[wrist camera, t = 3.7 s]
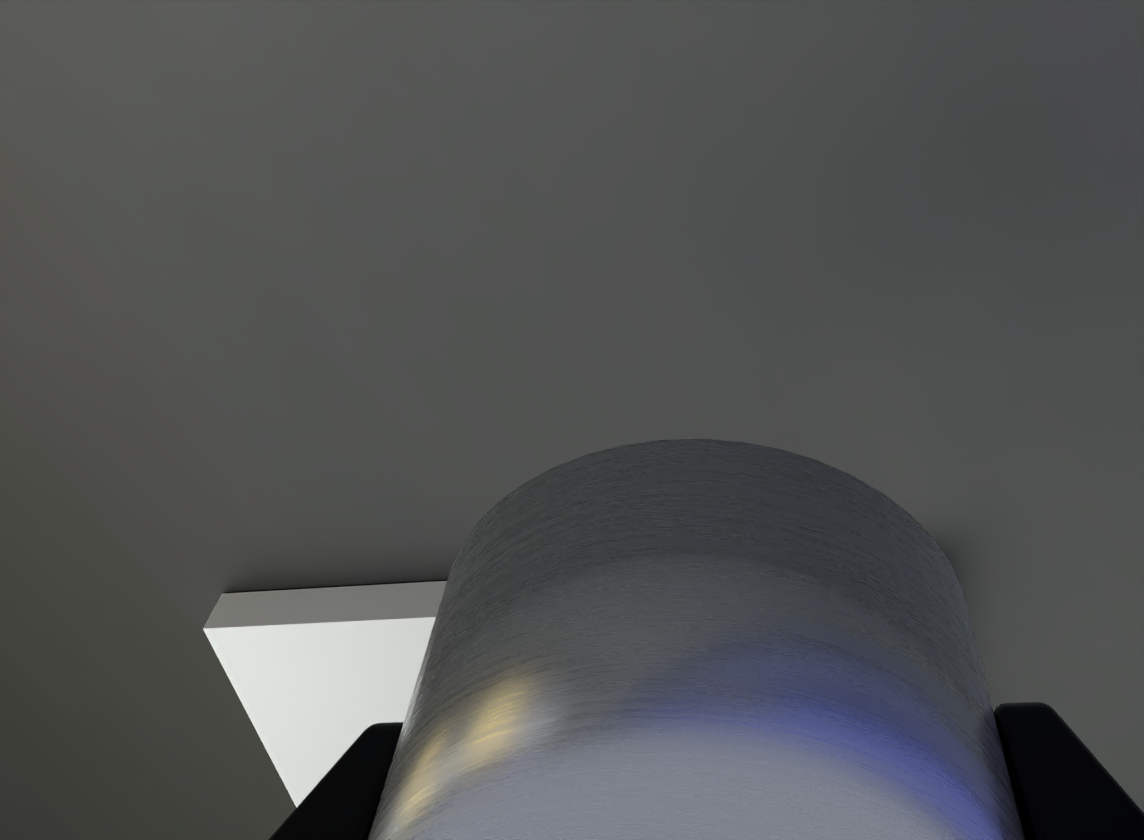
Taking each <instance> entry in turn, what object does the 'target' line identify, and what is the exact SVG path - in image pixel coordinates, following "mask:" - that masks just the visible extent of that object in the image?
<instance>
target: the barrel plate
mask: <svg viewBox="0 0 1144 840" xmlns="http://www.w3.org/2000/svg"><path fill="white" fill-rule="evenodd" d="M446 583H447V581H435V582H417V583H400V584H382V585H365V586H347V587H330V588H312V589H295V590H277V591H259V592H242V593H224V594H222V595H221V597H220V598H219V600H218V602H217V604H216V606H215V608H214V609H213V611H212V613H211V615H210V617H209V619H208V620H207V622H206V624H205V626H204V628H203V630H204V632H205V633H206V635H207V637H208V639H209V641H210V643H211V645H212V647H213V649H214V651H215V653H216V655H217V656H218V658H219V660H220V662H221V664H222V666H223V668H224V670H225V672H226V674H227V676H228V677H229V679H230V681H231V683H232V685H233V687H234V689H235V691H236V693H237V695H238V697H239V699H240V700H241V702H242V704H243V706H244V708H245V710H246V712H247V714H248V716H249V718H250V720H251V721H252V723H253V725H254V727H255V729H256V731H257V733H258V735H259V737H260V739H261V741H262V742H263V744H264V746H265V748H266V750H267V752H268V754H269V756H270V758H271V760H272V762H273V764H274V765H275V767H276V769H277V771H278V773H279V775H280V777H281V779H282V781H283V783H284V785H285V786H286V788H287V790H288V792H289V794H290V796H291V798H292V800H293V802H294V804H295V806H296V808H297V807H298V806H299V804H300V803H301V802H302V801H303V800H304V799H305V798H306V796H307V795H308V794H309V793H310V792H311V791H312V790H313V788H314V787H315V786H316V785H317V784H318V783H319V782H320V780H321V779H322V778H323V777H324V776H325V775H326V774H327V772H328V771H329V770H330V769H331V768H332V767H333V766H334V765H335V763H336V762H337V761H338V760H339V759H340V758H341V757H342V755H343V754H344V753H345V752H346V751H347V750H348V749H349V747H350V746H351V745H352V744H353V743H354V742H355V741H356V739H357V738H358V737H359V736H360V735H361V734H362V733H363V731H364V730H365V729H367V728H368V727H369V726H371V725H373V724H376V723H391V722H404V720H405V717H406V713H407V710H408V707H409V704H410V700H411V697H412V694H413V691H414V687H415V684H416V681H417V678H418V674H419V671H420V668H421V664H422V661H423V658H424V655H425V651H426V648H427V645H428V642H429V638H430V635H431V632H432V628H433V625H434V622H435V619H436V615H437V612H438V609H439V606H440V602H441V599H442V596H443V593H444V589H445V586H446Z"/></svg>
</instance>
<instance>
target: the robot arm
mask: <svg viewBox="0 0 1144 840" xmlns="http://www.w3.org/2000/svg"><path fill="white" fill-rule="evenodd" d="M994 716H995V720H996V724H997V728H998V732H999V736H1000V740H1001V744H1002V748H1003V752H1004V756H1005V760H1006V764H1007V768H1008V772H1009V776H1010V780H1011V784H1012V788H1013V792H1014V796H1015V800H1016V804H1017V808H1018V812H1019V816H1020V820H1021V824H1022V828H1023V832H1024V836H1025V840H1144V813H1143V812H1142V810H1141V809H1140V808H1139V807H1138V806H1137V805H1136V804H1135V802H1134V801H1133V800H1132V799H1131V798H1130V797H1129V795H1128V794H1127V793H1126V792H1125V791H1124V790H1123V789H1122V787H1121V786H1120V785H1119V784H1118V783H1117V782H1116V781H1115V779H1114V778H1113V777H1112V776H1111V775H1110V774H1109V772H1108V771H1107V770H1106V769H1105V768H1104V767H1103V766H1102V764H1101V763H1100V762H1099V761H1098V760H1097V759H1096V757H1095V756H1094V755H1093V754H1092V753H1091V752H1090V751H1089V749H1088V748H1087V747H1086V746H1085V745H1084V744H1083V743H1082V741H1081V740H1080V739H1079V738H1078V737H1077V736H1076V734H1075V733H1074V732H1073V731H1072V730H1071V729H1070V728H1069V726H1068V725H1067V724H1066V723H1065V722H1064V721H1063V719H1062V718H1061V717H1060V716H1059V715H1058V714H1057V713H1056V712H1055V711H1054V710H1053V709H1052V708H1051V707H1050V706H1049V705H1047V704H1044V703H1040V702H1031V703H1003V704H1000V705H998V706H997V707H996V709H995V711H994ZM403 723H404V722H391V723H376V724H373V725H371V726H369V727H368V728H367V729H365V730H364V731H363V733H362V734H361V735H360V736H359V737H358V738H357V739H356V741H355V742H354V743H353V744H352V745H351V746H350V747H349V749H348V750H347V751H346V752H345V753H344V754H343V755H342V757H341V758H340V759H339V760H338V761H337V762H336V763H335V765H334V766H333V767H332V768H331V769H330V770H329V771H328V772H327V774H326V775H325V776H324V777H323V778H322V779H321V780H320V782H319V783H318V784H317V785H316V786H315V787H314V788H313V790H312V791H311V792H310V793H309V794H308V795H307V796H306V798H305V799H304V800H303V801H302V802H301V803H300V804H299V806H298V807H297V808H296V809H295V810H294V811H293V812H292V814H291V815H290V816H289V817H288V818H287V819H286V820H285V822H284V823H283V824H282V825H281V826H280V827H279V828H278V830H277V831H276V832H275V833H274V834H273V835H272V836H271V838H270V839H269V840H368V838H369V834H370V831H371V828H372V825H373V821H374V818H375V815H376V812H377V808H378V805H379V802H380V798H381V795H382V792H383V789H384V785H385V782H386V779H387V776H388V772H389V769H390V766H391V763H392V759H393V756H394V753H395V749H396V746H397V743H398V740H399V736H400V733H401V730H402V727H403Z"/></svg>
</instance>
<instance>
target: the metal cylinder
mask: <svg viewBox="0 0 1144 840" xmlns="http://www.w3.org/2000/svg"><path fill="white" fill-rule="evenodd" d="M368 840H1025V836H1024V832H1023V828H1022V824H1021V820H1020V816H1019V812H1018V808H1017V804H1016V800H1015V796H1014V792H1013V788H1012V784H1011V780H1010V776H1009V772H1008V768H1007V764H1006V760H1005V756H1004V752H1003V748H1002V744H1001V740H1000V736H999V732H998V728H997V724H996V720H995V716H994V712H993V708H992V704H991V700H990V696H989V692H988V688H987V684H986V680H985V676H984V672H983V668H982V664H981V660H980V656H979V652H978V648H977V644H976V640H975V636H974V632H973V628H972V624H971V620H970V616H969V612H968V609H967V605H966V601H965V598H964V594H963V590H962V586H961V584H960V582H959V580H958V578H957V576H956V574H955V572H954V570H953V568H952V566H951V564H950V562H949V560H948V559H947V557H946V556H945V554H944V553H943V552H942V550H941V549H940V547H939V546H938V545H937V543H936V542H935V540H934V539H933V538H932V536H931V535H930V534H929V533H928V532H927V531H926V530H925V529H924V528H923V527H922V526H921V525H920V524H919V523H918V522H917V521H916V520H915V519H914V518H913V517H912V516H911V515H910V514H909V513H908V512H906V511H905V510H904V509H903V508H901V507H900V506H899V505H897V504H896V503H895V502H893V501H892V500H891V499H890V498H888V497H887V496H886V495H884V494H883V493H881V492H880V491H878V490H876V489H875V488H873V487H871V486H869V485H868V484H866V483H864V482H862V481H861V480H859V479H857V478H855V477H854V476H852V475H850V474H848V473H845V472H843V471H841V470H838V469H836V468H834V467H831V466H829V465H827V464H824V463H822V462H820V461H817V460H814V459H811V458H807V457H804V456H801V455H797V454H794V453H791V452H787V451H784V450H781V449H776V448H771V447H765V446H760V445H754V444H749V443H743V442H735V441H722V440H709V439H680V440H658V441H651V442H644V443H636V444H629V445H622V446H618V447H615V448H611V449H607V450H603V451H599V452H595V453H591V454H587V455H584V456H582V457H579V458H577V459H574V460H571V461H569V462H566V463H563V464H561V465H558V466H556V467H553V468H552V469H550V470H548V471H546V472H544V473H542V474H540V475H538V476H537V477H535V478H533V479H531V480H529V481H527V482H525V483H524V484H523V485H521V486H520V487H518V488H517V489H516V490H514V491H513V492H511V493H510V494H509V495H507V496H506V497H505V498H503V499H502V500H500V501H499V502H498V503H497V504H496V505H495V506H494V507H493V508H492V509H491V510H490V511H489V512H488V513H487V514H486V515H485V516H484V517H483V518H482V519H481V520H480V521H479V522H478V523H477V525H476V526H475V528H474V529H473V530H472V532H471V533H470V534H469V536H468V537H467V538H466V540H465V541H464V542H463V544H462V546H461V548H460V550H459V552H458V554H457V556H456V558H455V560H454V562H453V564H452V566H451V570H450V573H449V576H448V579H447V583H446V586H445V589H444V593H443V596H442V599H441V602H440V606H439V609H438V612H437V615H436V619H435V622H434V625H433V628H432V632H431V635H430V638H429V642H428V645H427V648H426V651H425V655H424V658H423V661H422V664H421V668H420V671H419V674H418V678H417V681H416V684H415V687H414V691H413V694H412V697H411V700H410V704H409V707H408V710H407V713H406V717H405V720H404V723H403V727H402V730H401V733H400V736H399V740H398V743H397V746H396V749H395V753H394V756H393V759H392V763H391V766H390V769H389V772H388V776H387V779H386V782H385V785H384V789H383V792H382V795H381V798H380V802H379V805H378V808H377V812H376V815H375V818H374V821H373V825H372V828H371V831H370V834H369V838H368Z"/></svg>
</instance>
